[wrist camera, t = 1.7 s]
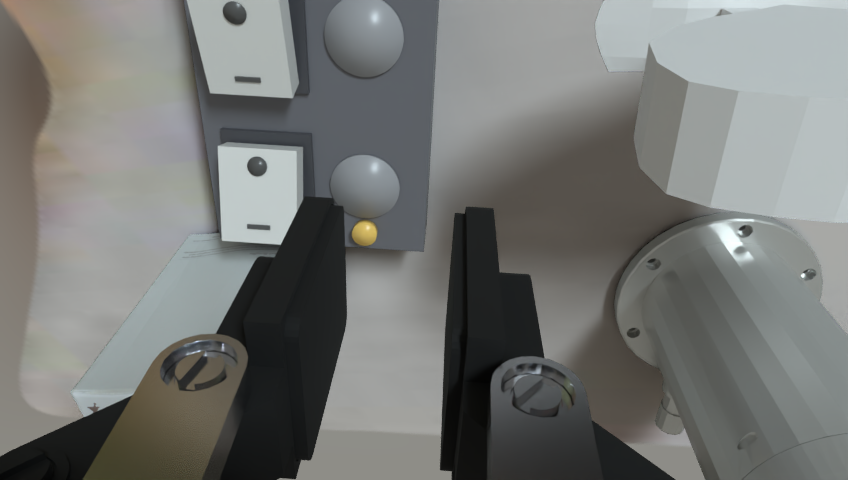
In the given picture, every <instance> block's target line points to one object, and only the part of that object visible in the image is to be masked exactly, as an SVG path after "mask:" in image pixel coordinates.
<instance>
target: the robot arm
mask: <svg viewBox="0 0 848 480" xmlns="http://www.w3.org/2000/svg"><path fill="white" fill-rule="evenodd" d="M822 287H823V276H822V270H821V265H820V263H819V261H818V258H817V256H816V254H815V252H814V251H813V250H812V248H811V247H810V246H809V245H808V244H807V242H806V241H805V240H804V239H803V238H802V237H801V236H800V235H799V234H798V233H796V232H795V231H794V230H793V229H792V228H791V227H789V226H787V225H785V224H783V223H781V222H780V221H778V220H776V219H772V218H769V217H766V216H762V215H757V214H751V213H742V212H732V213H717V214H712V215H707V216H703V217H698V218H695V219H692V220H690V221H687V222H684V223H682V224H679V225H677V226H675V227H673V228H671V229H669V230H668V231H666V232H664V233H662V234H660V235H659V236H657V237H656V238H655V239H654V240H652V241H651V242H650V243H648V244H647V245H646V246H644V247H643V248H642V249H641V251H640V252H639V253H638V254H637V255H636V256H635V257H634V258H633V259H632V260H631V262H630V263H629V265H628V266H627V268H626V269H625V271H624V273H623V274H622V276H621V279H620V281H619V284H618V287H617V289H616V295H615V302H614V308H615V318H616V321H617V324H618V327H619V330H620V333H621V335H622V337H623V339H624V341H625V343H626V345H627V346H628V347H629V348H630V349H631V350H632V351H633V353H634V354H635V355H636V356H638V357H639V358H640V359H642V360H643V361H645V362H646V363H647V364H649V365H651V366H654V367H656V368H658V369H660V371H661V373H662V376H663V378H664V380H663V383H662V389H663V391H664V393H665V396H664V398H663V399H662V401H661V404H660V407H659V410H658V413H657V416H656V419H655V422H656V425H657V427H658V428H659V429H660V430H661V431H663V432H665V433H667V434H672V435H677V434H681V432H682V431H683V430H684V428H685V430H686V433H687V435H688V438H689V440H690V443H691V445H692V448H693V450H694V453H695V455H696V457H697V460H698V463H699V465H700V468H701V470H702V472H703V475H704V477H705V480H848V334H847V333H846V332H845V331H844V330H843V329H842V327H841V326H840V325H839V324H838V323H837V321H836V320H835V319H834V318H833V317H832V315H831V314H830V313H829V312H828V311H827V309H826V308H825V307H824V306H823V305H822V303H821V302H820V299H821V296H822ZM346 319H347V301H346V263H345V226H344V207H343V206H339V205H335V203H334V199H333V198H325V197H310V196H305V197H304V198H303V200H302V202H301V204H300V207H299V209H298V211H297V213H296V215H295V217H294V219H293V221H292V223H291V225H290V227H289V229H288V231H287V233H286V235H285V237H284V239H283V241H282V243H281V245H280V247H279V249H278V251H277V253H276V255H275V257H265V256H260V257H257V259H256V260H255V261H254V263H253V265H252V267H251V269H250V271H249V273H248V274H247V276H246V278H245V280H244V282H243V284H242V286H241V287H240V289H239V291H238V293H237V295H236V297H235V299H234V300H233V302H232V304H231V306H230V308H229V310H228V312H227V313H226V315H225V317H224V319H223V321H222V323H221V325H220V326H219V328H218V330H217V332H216V334H200V335H195V336H191V337H187V338H184V339H182V340H180V341H177V342H175V343H173V344H171V345H170V346H168V347H167V348H166V349H164V350H163V351H161V352H160V353H159V355H158V356H157V357H156V358H155V360H154V361H153V362H152V364H151V365H150V367H149V369H148V370H147V372H146V374H145V375H144V377H143V379H142V380H141V382H140V384H139V386H138V387H137V389H136V391H135V392H134V394H133V395H132V396H130V397H127V398H125V399H123V400H121V401H119V402H116V403H114V404H112V405H110V406H108V407H105V408H103V409H101V410H99V411H97V412H94V413H92V414H90V415H88V416H86V417H84V418H81V419H79V420H77V421H75V422H73V423H70V424H68V425H66V426H64V427H62V428H60V429H58V430H55V431H53V432H51V433H49V434H47V435H44V436H42V437H40V438H38V439H35V440H33V441H31V442H29V443H27V444H24V445H22V446H20V447H18V448H16V449H13V450H11V451H9V452H8V453H6V454H4V455H2V456H1V457H0V480H277V479H279V478H289V479H296V476H297V472H298V469H299V465H300V462H301V460H311V458H312V455H313V452H314V448H315V444H316V440H317V436H318V432H319V429H320V425H321V421H322V417H323V413H324V409H325V405H326V402H327V398H328V394H329V390H330V386H331V382H332V378H333V374H334V371H335V367H336V363H337V359H338V355H339V351H340V347H341V343H342V340H343V336H344V332H345V327H346ZM440 470H444V471H452V480H675V479H674V478H672V477H671V476H670V475H668V474H667V473H665V472H664V471H662V470H661V469H660V468H658V467H657V466H655V465H654V464H653V463H651V462H650V461H648V460H647V459H646V458H644V457H643V456H642V455H640V454H639V453H637V452H636V451H635V450H633V449H632V448H630V447H629V446H628V445H626V444H625V443H623V442H622V441H620V440H619V439H618V438H616V437H615V436H613V435H612V434H611V433H609V432H608V431H606V430H605V429H604V428H602V427H601V426H599V425H598V424H597V423H595V422H594V421H592V419H591V415H590V410H589V405H588V400H587V395H586V391H585V389H584V387H583V384H582V382H581V381H580V380H579V379H578V377H577V376H576V375H575V374H574V373H573V372H572V371H570V370H569V369H568V368H566V367H565V366H563V365H562V364H559V363H557V362H554V361H552V360H550V359H545V358H544V353H543V347H542V341H541V335H540V329H539V323H538V317H537V311H536V306H535V300H534V294H533V288H532V282H531V278H530V275H529V274H515V273H500V272H499V262H498V251H497V241H496V230H495V220H494V210H493V208H478V207H466V210H465V214H461V213H455V217H454V229H453V241H452V253H451V265H450V278H449V290H448V302H447V314H446V328H445V351H444V377H443V404H442V431H441V460H440Z"/></svg>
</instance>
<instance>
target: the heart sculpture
mask: <svg viewBox="0 0 848 480" xmlns="http://www.w3.org/2000/svg"><path fill="white" fill-rule="evenodd" d="M595 31H596V39H597V43H598V46H599V49H600V53H601V56H602V58H603V60H604V63H605V65H606V67H607V69H608V72H644V76H643V82H642V88H641V95H640V101H639V107H638V113H637V119H636V125H635V131H634V137H633V139H634V144H635V149H636V154H637V159H638V164H639V168H640V169H641V170H642V171H643V172H644V173H645V174H646V175H647V176H648V177H649V178H650V179H651V180H652V181H653V182H654V183H655V184H656V185H657V186H658V187H660V188H661V189H662V190H663V191H664V192H665V193H666V194H668V195H671V196H674V197H678V198H681V199H684V200H687V201H691V202H694V203H697V204H700V205H704V206H707V207H711V208H717V209H724V210H731V211H737V212H744V213H751V214H757V215H764V216H771V217H780V218H791V219H801V220H812V221H823V222H833V223H848V0H604V2H603V3H602V5H601V7H600V10H599V13H598V16H597V19H596V22H595Z"/></svg>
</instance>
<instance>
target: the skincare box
mask: <svg viewBox="0 0 848 480" xmlns="http://www.w3.org/2000/svg"><path fill="white" fill-rule="evenodd" d="M279 247H280V245H278V244H264V243H249V242H234V241H222V238H220V235H219V233H213V234H194V235H189V236H188V237H187V239H186V240H185V241H184V243H183V244H182V245H181V247H180V248H179V249H178V251H177V252H176V253H175V255H174V256H173V257H172V259H171V260H170V261H169V263H168V264H167V266H166V267H165V268H164V270H163V271H162V272H161V274H160V275H159V276H158V278H157V279H156V280H155V282H154V283H153V284H152V286H151V287H150V288H149V290H148V291H147V292H146V294H145V295H144V296H143V298H142V299H141V300H140V301H139V303H138V304H137V306H136V307H135V308H134V310H133V311H132V312H131V313H130V315H129V316H128V317H127V319H126V320H125V321H124V323H123V324H122V325H121V327H120V328H119V329H118V331H117V332H116V333H115V335H114V336H113V337H112V339H111V340H110V341H109V343H108V344H107V345H106V347H105V348H104V349H103V351H102V352H101V353H100V355H99V356H98V357H97V358H96V360H95V361H94V362H93V364H92V365H91V367H90V368H89V369H88V370H87V372H86V373H85V374H84V376H83V377H82V378H81V380H80V381H79V382H78V383H77V384H76V386H75V387H74V388H73V389H72V390H71V395H72V397H73V398H74V400H75V402H76V403H77V405H78V407H79V409H80V411H81V413H82V415H83V417H86V416H88V415H90V414H92V413H94V412H97V411H99V410H101V409H103V408H105V407H108V406H110V405H112V404H114V403H116V402H119V401H121V400H123V399H125V398H127V397H130V396H132V395H133V394H134V392H135V391H136V389H137V387H138V386H139V384H140V382H141V380H142V379H143V377H144V375H145V374H146V372H147V370H148V369H149V367H150V365H151V364H152V362H153V361H154V360H155V358H156V357H157V356H158V355H159V353H160V352H161V351H163V350H164V349H166V348H167V347H168V346H170V345H171V344H173V343H175V342H177V341H180V340H182V339H184V338H187V337H191V336H195V335H200V334H216V332H217V330H218V328H219V326H220V325H221V323H222V321H223V319H224V317H225V315H226V313H227V312H228V310H229V308H230V306H231V304H232V302H233V300H234V299H235V297H236V295H237V293H238V291H239V289H240V287H241V286H242V284H243V282H244V280H245V278H246V276H247V274H248V273H249V271H250V269H251V267H252V265H253V263H254V261H255V260H256V259H257V257H260V256H265V257H275V255H276V253H277V251H278V249H279Z"/></svg>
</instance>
